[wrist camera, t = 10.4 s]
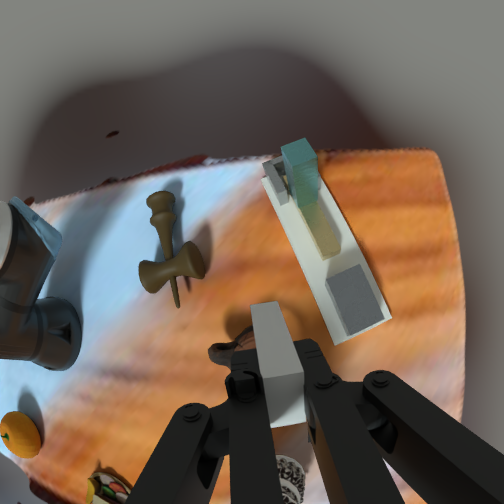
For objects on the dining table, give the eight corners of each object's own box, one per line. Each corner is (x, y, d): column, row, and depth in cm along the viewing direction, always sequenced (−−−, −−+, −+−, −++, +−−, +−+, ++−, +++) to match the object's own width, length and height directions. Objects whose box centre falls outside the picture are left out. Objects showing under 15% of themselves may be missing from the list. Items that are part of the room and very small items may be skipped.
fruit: (14, 416, 45) (-16, 417, 36) (33, 405, 45) (0, 406, 36) (32, 458, 41) (3, 464, 32) (53, 452, 41) (21, 459, 32)
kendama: (191, 195, 52) (215, 302, 44) (146, 214, 53) (161, 318, 46) (177, 177, 46) (199, 295, 39) (128, 200, 47) (141, 313, 40)
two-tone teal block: (341, 252, 41) (351, 214, 29) (321, 261, 42) (324, 226, 29) (301, 177, 46) (295, 122, 34) (283, 184, 46) (271, 131, 34)
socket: (320, 189, 45) (320, 175, 42) (280, 205, 46) (277, 193, 42) (304, 161, 47) (303, 146, 44) (266, 176, 48) (262, 163, 44)
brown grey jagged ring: (294, 317, 42) (306, 343, 34) (288, 371, 44) (297, 403, 35) (210, 315, 41) (204, 341, 33) (210, 370, 43) (206, 402, 35)
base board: (390, 318, 38) (392, 318, 37) (334, 345, 39) (335, 345, 38) (309, 162, 48) (309, 159, 47) (261, 182, 49) (260, 179, 48)
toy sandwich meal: (147, 493, 36) (134, 503, 32) (137, 532, 33) (125, 542, 29) (95, 459, 40) (80, 465, 35) (89, 500, 37) (75, 507, 32)
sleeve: (378, 321, 38) (384, 318, 34) (346, 336, 38) (350, 335, 35) (355, 270, 41) (359, 263, 37) (324, 284, 41) (325, 279, 37)
